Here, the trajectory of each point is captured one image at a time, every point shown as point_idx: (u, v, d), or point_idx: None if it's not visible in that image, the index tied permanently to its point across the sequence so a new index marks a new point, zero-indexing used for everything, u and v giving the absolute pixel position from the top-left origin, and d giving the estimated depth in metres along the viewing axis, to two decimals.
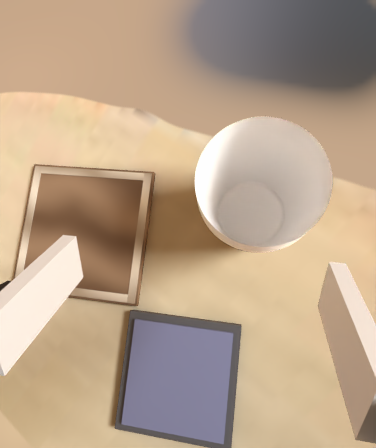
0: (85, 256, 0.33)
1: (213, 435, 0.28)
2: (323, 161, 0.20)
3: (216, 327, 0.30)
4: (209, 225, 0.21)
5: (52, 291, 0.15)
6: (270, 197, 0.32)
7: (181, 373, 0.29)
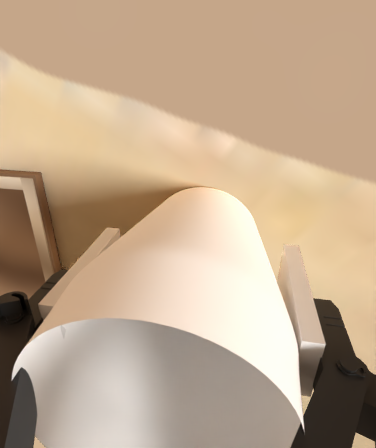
0: None
1: None
2: None
3: None
4: (85, 425, 0.12)
5: None
6: None
7: None
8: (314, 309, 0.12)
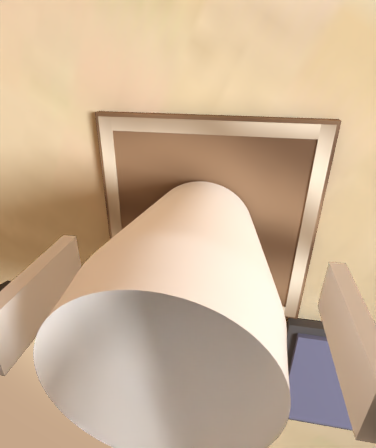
0: None
1: None
2: None
3: None
4: (94, 394, 0.13)
5: (52, 291, 0.15)
6: None
7: None
8: None
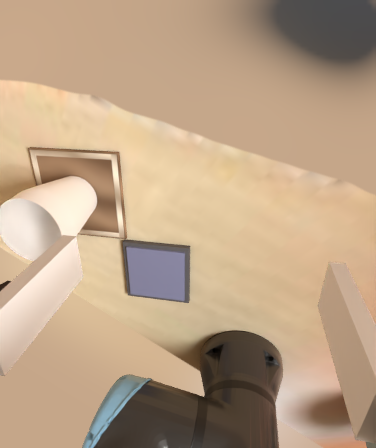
0: None
1: (178, 297, 0.53)
2: None
3: (174, 249, 0.49)
4: (18, 244, 0.41)
5: (52, 291, 0.15)
6: None
7: (157, 272, 0.52)
8: None
